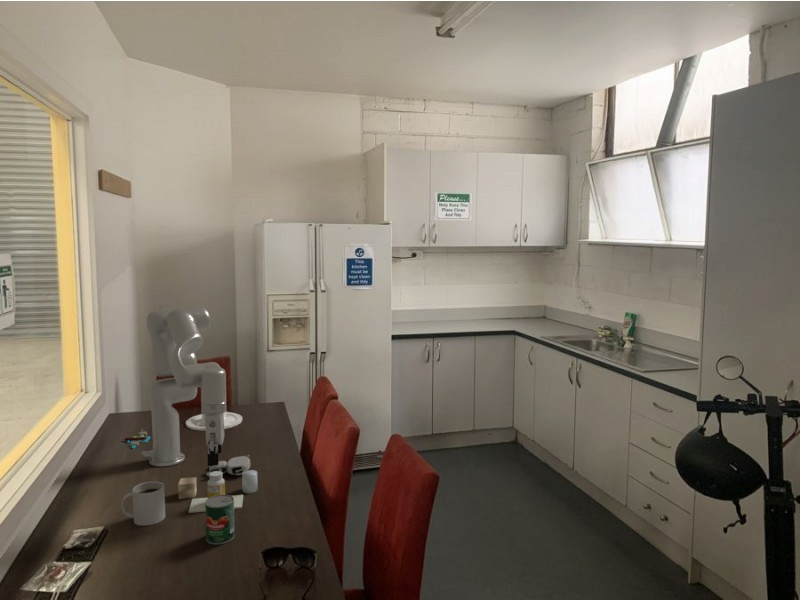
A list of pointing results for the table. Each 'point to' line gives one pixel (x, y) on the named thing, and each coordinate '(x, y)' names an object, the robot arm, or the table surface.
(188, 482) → the birch block
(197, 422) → the dish
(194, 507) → the sage mat
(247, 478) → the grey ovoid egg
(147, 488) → the mug
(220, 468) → the robot toy
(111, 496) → the table surface
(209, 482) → the supplement bottle
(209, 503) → the canned tomato
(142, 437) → the gear mechanism
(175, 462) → the robot arm
